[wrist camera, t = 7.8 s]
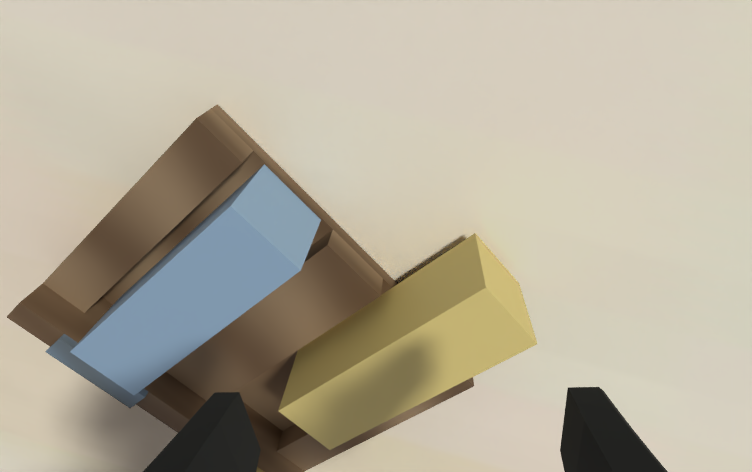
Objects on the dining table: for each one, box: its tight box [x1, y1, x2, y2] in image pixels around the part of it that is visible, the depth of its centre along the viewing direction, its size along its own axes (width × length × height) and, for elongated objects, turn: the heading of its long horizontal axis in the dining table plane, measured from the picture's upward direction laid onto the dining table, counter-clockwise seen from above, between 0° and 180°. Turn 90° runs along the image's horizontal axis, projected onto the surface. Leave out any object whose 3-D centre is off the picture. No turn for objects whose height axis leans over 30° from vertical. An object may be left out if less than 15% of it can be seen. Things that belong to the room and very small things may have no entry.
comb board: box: [7, 105, 474, 472], centre depth 20 cm, size 12×15×3 cm
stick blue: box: [70, 164, 321, 395], centre depth 18 cm, size 10×3×4 cm, turn 132°
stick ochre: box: [278, 234, 537, 450], centre depth 19 cm, size 10×3×4 cm, turn 132°
